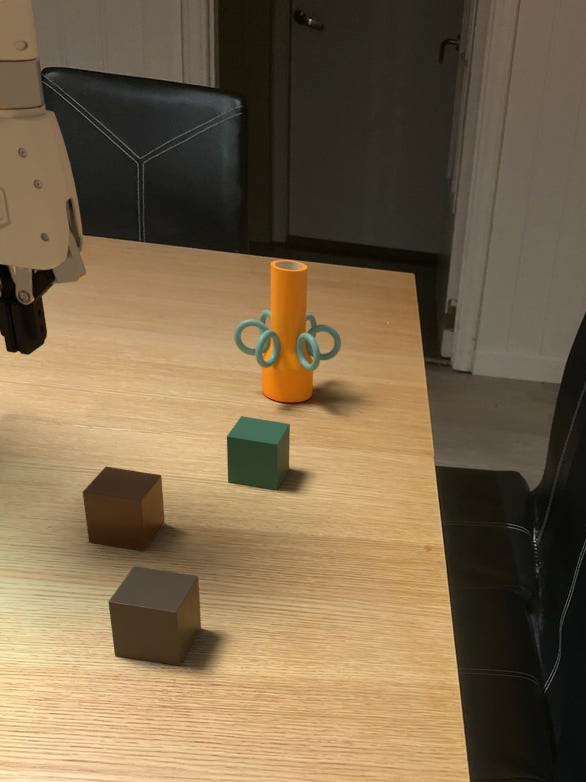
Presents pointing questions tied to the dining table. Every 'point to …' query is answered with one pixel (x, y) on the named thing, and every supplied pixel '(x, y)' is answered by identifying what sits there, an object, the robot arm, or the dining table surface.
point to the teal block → (258, 452)
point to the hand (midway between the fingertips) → (26, 347)
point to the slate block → (155, 615)
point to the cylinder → (287, 336)
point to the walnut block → (124, 508)
